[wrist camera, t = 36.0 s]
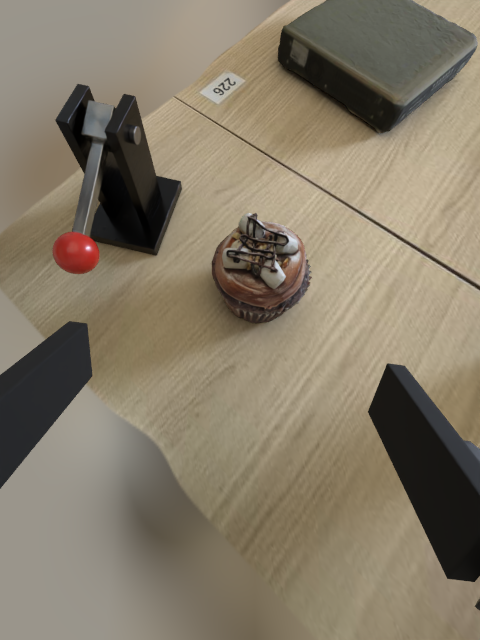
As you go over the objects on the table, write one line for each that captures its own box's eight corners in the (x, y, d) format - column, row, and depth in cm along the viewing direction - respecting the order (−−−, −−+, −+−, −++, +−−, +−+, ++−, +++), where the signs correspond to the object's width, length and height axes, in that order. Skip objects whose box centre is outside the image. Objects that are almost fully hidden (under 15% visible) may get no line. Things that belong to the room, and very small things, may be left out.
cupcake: (291, 340, 32) (319, 304, 23) (202, 318, 33) (194, 273, 23) (306, 264, 36) (337, 204, 26) (226, 244, 36) (227, 178, 26)
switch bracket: (156, 255, 35) (121, 164, 23) (89, 240, 35) (19, 141, 23) (182, 188, 38) (163, 77, 26) (120, 174, 38) (73, 58, 26)
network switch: (342, 6, 53) (354, -35, 49) (465, 67, 49) (491, 28, 45) (265, 73, 46) (270, 33, 42) (401, 149, 42) (424, 114, 38)
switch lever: (102, 280, 28) (80, 275, 25) (64, 271, 28) (38, 265, 25) (135, 129, 28) (118, 102, 24) (98, 121, 28) (75, 92, 24)
